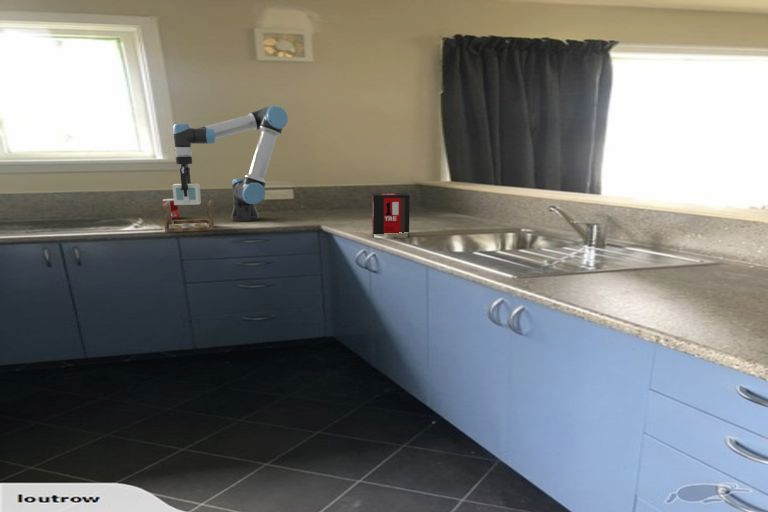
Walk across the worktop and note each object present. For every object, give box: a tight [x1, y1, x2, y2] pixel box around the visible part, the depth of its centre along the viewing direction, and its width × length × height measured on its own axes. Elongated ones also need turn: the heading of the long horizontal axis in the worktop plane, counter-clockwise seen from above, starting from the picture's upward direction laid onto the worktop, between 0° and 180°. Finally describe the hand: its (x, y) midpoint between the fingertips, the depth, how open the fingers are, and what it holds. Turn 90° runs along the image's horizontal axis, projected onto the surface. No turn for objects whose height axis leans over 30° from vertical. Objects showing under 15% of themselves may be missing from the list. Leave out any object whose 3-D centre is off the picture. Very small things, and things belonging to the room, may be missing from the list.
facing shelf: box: [161, 199, 215, 233], centre depth 255 cm, size 22×14×14 cm, turn 102°
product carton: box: [172, 183, 202, 206], centre depth 252 cm, size 12×6×10 cm, turn 102°
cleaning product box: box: [371, 192, 411, 235], centre depth 233 cm, size 16×9×20 cm, turn 95°
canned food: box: [162, 198, 180, 220], centre depth 288 cm, size 8×8×11 cm
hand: (187, 202), depth 253 cm, fingers closed on product carton, 6 cm apart
